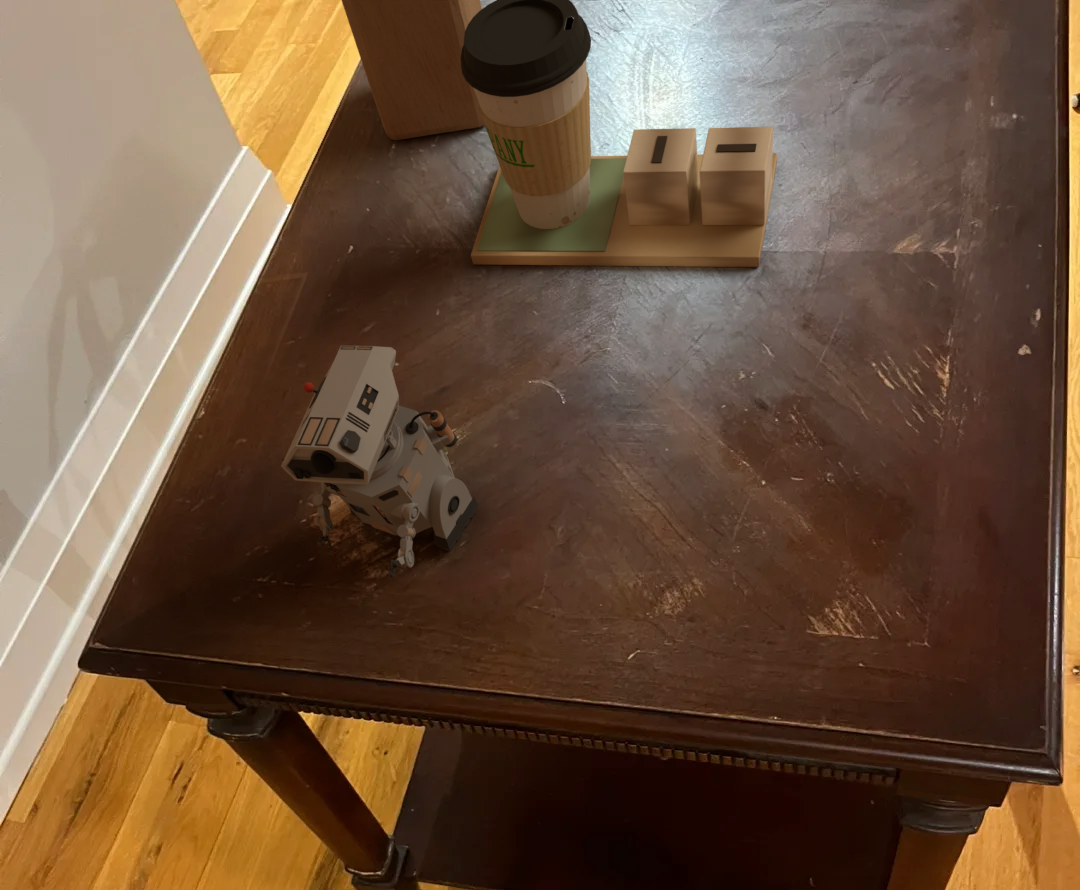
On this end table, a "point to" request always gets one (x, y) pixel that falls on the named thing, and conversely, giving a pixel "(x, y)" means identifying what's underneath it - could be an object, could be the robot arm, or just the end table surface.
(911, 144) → the end table surface
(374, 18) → the wooden block
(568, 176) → the coffee cup
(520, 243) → the word board
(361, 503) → the figurine
